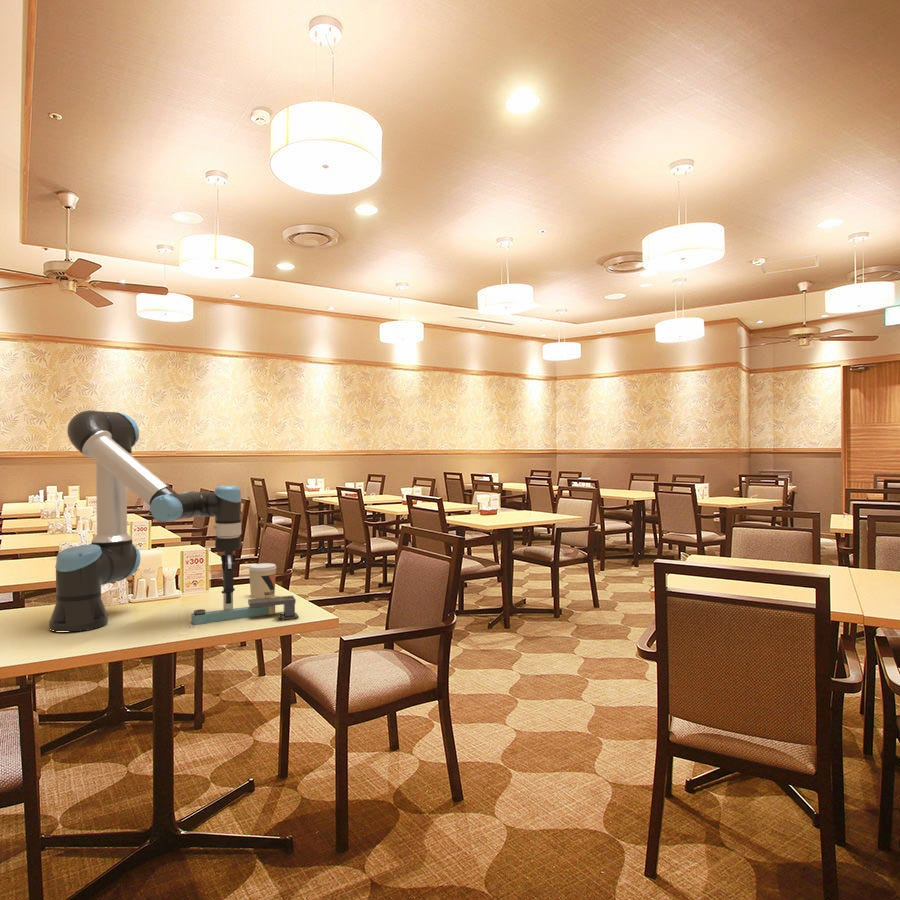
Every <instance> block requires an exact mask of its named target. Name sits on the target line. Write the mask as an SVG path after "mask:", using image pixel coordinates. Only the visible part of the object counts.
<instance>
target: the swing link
mask: <svg viewBox="0 0 900 900" xmlns="http://www.w3.org/2000/svg"><path fill="white" fill-rule="evenodd" d="M275 614H276V605H272V606H262V607H251V608H250V607H249V606H244V607H235V608H233V609H227V610H223V609H220V610H219V609H218V610H213V611H205V613H203V615H197V616H196V614H194V612H193V613H191V624H192V625H193V626H195V625H196V626H197V625H203V624H208V623H214V622H217V623H218V622H222V621H223V622H224V621H230V620H237V619H238V620H239V619H247V618H253V617H260V616H261V617H262V616H269V615H275Z"/></svg>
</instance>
